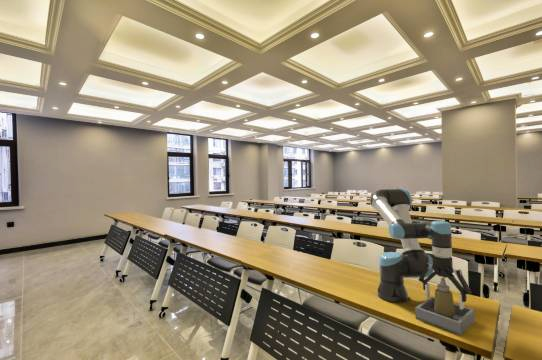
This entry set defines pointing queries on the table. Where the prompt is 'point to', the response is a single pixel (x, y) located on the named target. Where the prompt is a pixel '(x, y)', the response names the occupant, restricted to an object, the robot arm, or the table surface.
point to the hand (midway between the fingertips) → (444, 303)
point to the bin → (455, 325)
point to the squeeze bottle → (444, 300)
